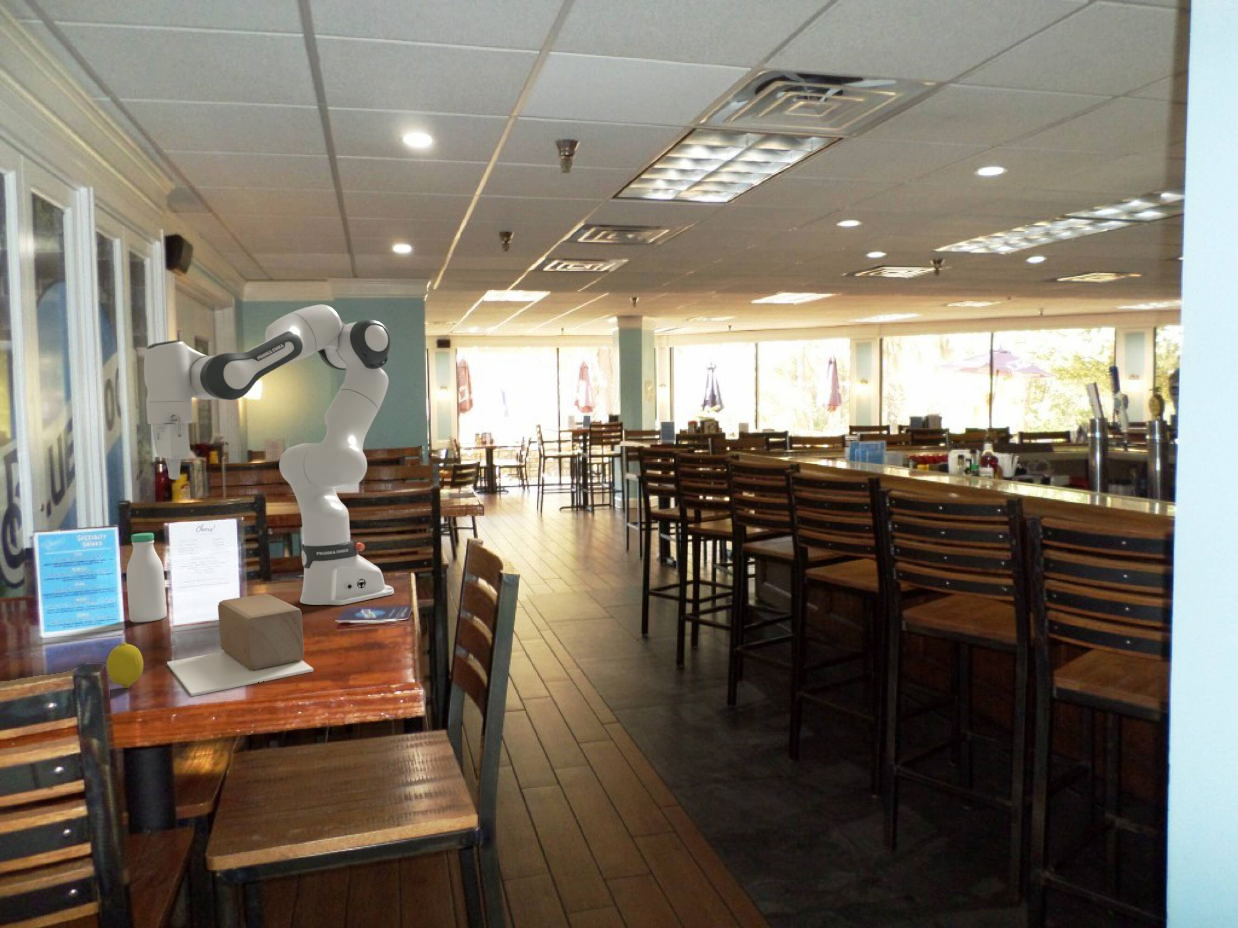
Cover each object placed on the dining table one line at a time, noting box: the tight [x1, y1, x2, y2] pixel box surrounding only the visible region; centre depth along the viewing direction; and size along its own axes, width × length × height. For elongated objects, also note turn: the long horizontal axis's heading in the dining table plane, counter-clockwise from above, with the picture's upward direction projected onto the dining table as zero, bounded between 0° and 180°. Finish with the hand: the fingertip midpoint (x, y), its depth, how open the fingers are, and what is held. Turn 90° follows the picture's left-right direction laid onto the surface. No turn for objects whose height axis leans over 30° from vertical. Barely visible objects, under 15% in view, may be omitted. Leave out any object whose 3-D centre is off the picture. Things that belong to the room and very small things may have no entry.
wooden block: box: [217, 593, 305, 670], centre depth 166 cm, size 10×10×20 cm
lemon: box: [106, 642, 144, 689], centre depth 150 cm, size 6×6×8 cm
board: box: [166, 651, 314, 697], centre depth 160 cm, size 20×24×1 cm
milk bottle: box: [126, 532, 168, 623], centre depth 202 cm, size 8×8×20 cm
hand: (174, 478), depth 190 cm, fingers closed
